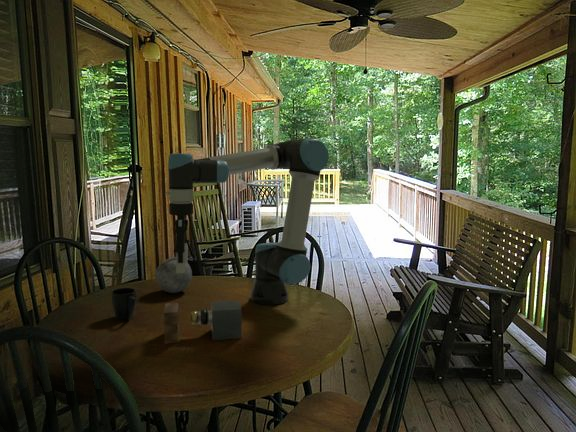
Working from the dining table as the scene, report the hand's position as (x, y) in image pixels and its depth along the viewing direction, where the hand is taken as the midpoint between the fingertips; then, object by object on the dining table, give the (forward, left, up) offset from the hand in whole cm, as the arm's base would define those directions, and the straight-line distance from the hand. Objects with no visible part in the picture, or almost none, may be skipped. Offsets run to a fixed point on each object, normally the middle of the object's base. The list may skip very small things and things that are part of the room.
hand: (182, 267), depth 144 cm
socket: (+3, +6, -21) cm, 22 cm away
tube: (-10, +6, -17) cm, 21 cm away
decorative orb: (+4, -43, -21) cm, 48 cm away
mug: (+20, -14, -21) cm, 32 cm away
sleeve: (-14, +6, -21) cm, 26 cm away
